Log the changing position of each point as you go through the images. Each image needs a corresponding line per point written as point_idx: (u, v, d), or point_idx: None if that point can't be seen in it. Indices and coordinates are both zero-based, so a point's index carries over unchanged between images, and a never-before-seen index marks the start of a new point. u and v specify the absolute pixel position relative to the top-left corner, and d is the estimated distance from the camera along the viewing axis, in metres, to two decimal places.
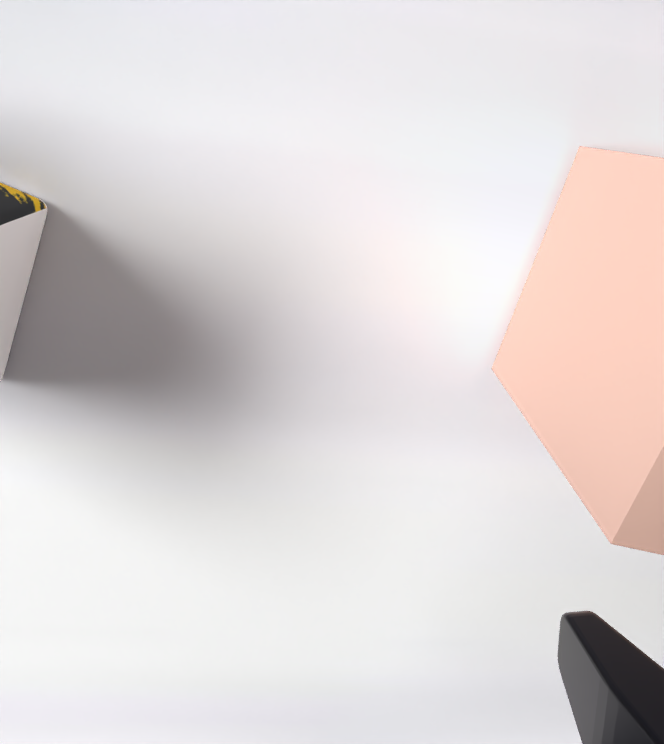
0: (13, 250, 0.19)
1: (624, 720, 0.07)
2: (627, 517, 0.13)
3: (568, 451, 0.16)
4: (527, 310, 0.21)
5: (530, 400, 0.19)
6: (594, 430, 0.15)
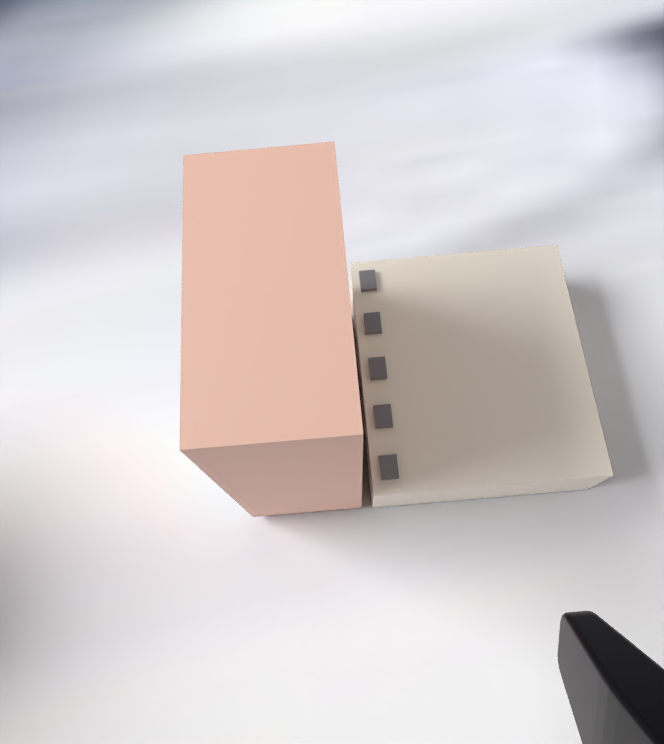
0: None
1: (624, 720, 0.07)
2: (185, 419, 0.14)
3: None
4: None
5: None
6: None
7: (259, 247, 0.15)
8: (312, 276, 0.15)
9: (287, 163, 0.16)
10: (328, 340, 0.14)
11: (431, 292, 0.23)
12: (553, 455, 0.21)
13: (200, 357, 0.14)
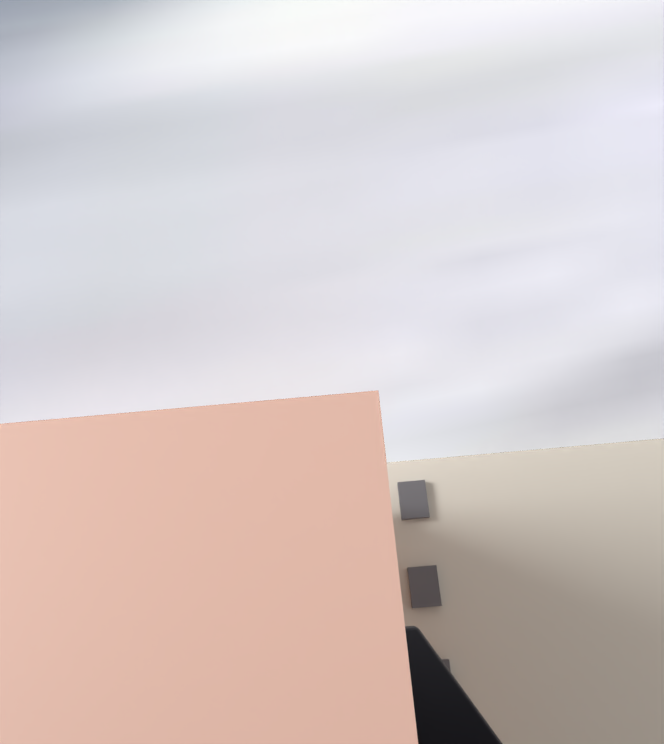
0: None
1: None
2: None
3: None
4: None
5: None
6: None
7: None
8: None
9: (255, 456, 0.06)
10: None
11: (525, 523, 0.13)
12: None
13: None
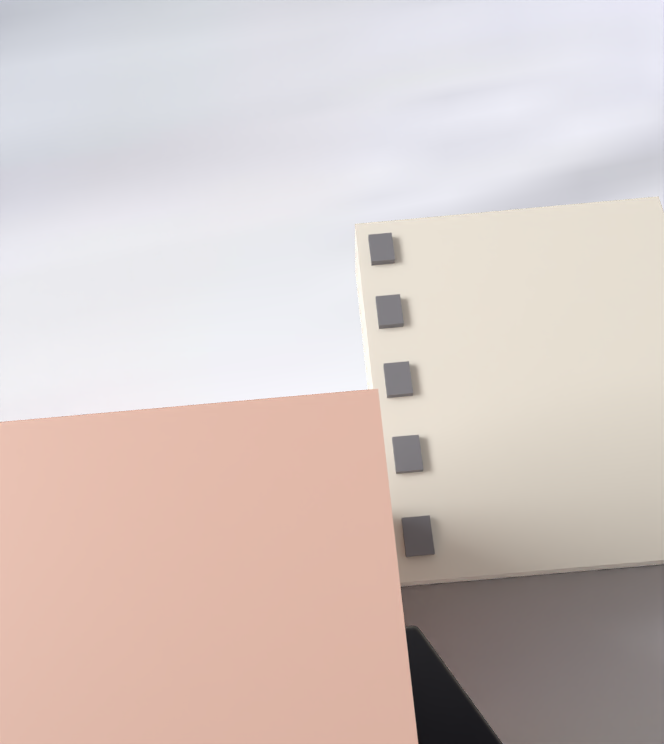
0: None
1: None
2: None
3: None
4: None
5: None
6: None
7: None
8: None
9: (255, 454, 0.06)
10: None
11: (476, 266, 0.16)
12: None
13: None
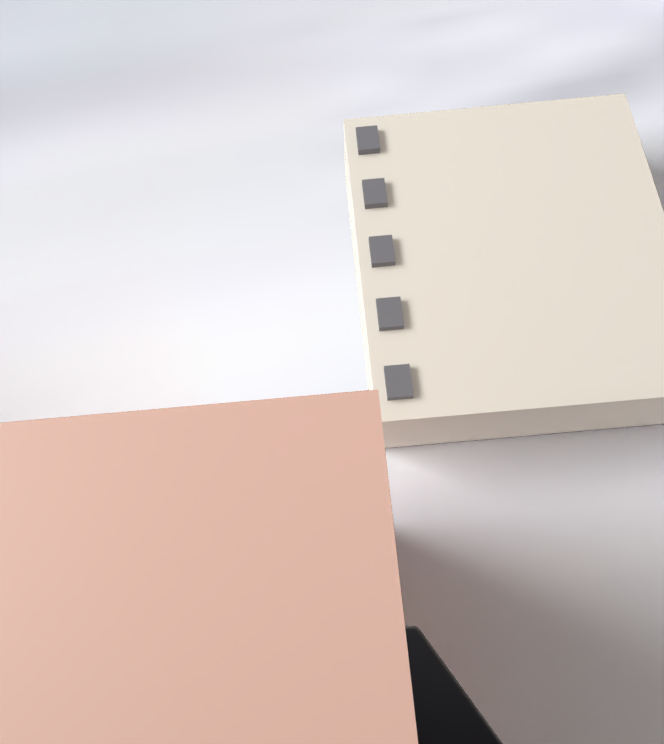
0: None
1: None
2: None
3: None
4: None
5: None
6: None
7: None
8: None
9: (256, 454, 0.06)
10: None
11: (455, 155, 0.17)
12: (634, 364, 0.15)
13: None
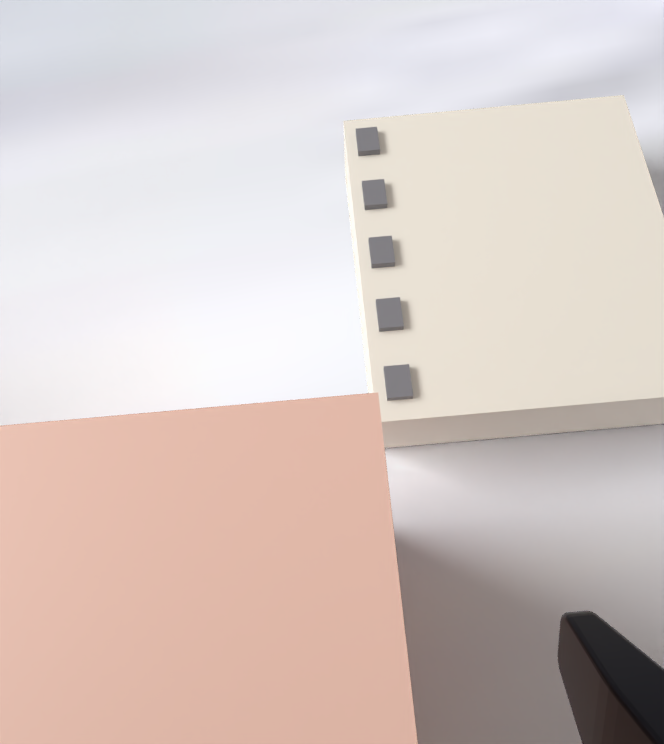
0: None
1: (624, 720, 0.07)
2: None
3: None
4: None
5: None
6: None
7: None
8: None
9: (257, 456, 0.06)
10: None
11: (455, 156, 0.17)
12: (633, 365, 0.15)
13: None
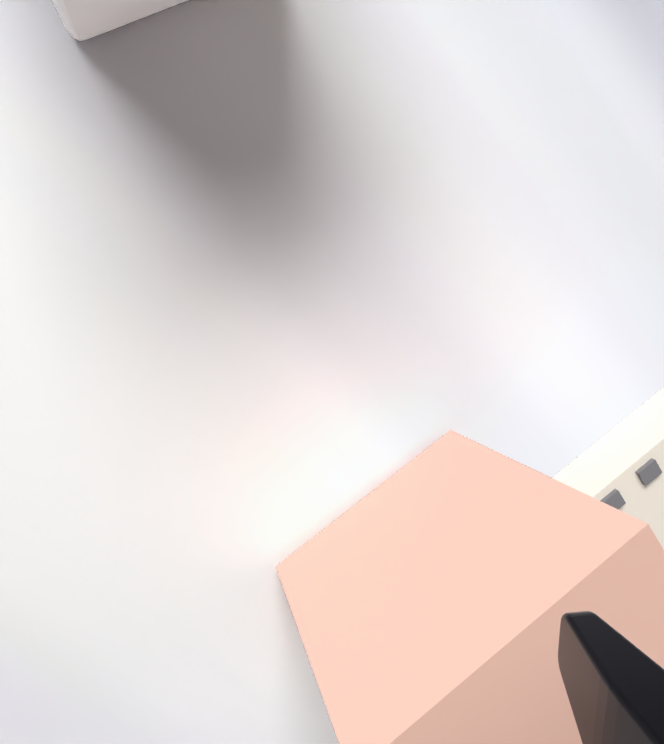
0: None
1: (624, 720, 0.07)
2: None
3: (335, 668, 0.15)
4: (343, 530, 0.21)
5: (310, 608, 0.18)
6: (376, 657, 0.15)
7: None
8: None
9: None
10: None
11: None
12: None
13: (447, 720, 0.13)
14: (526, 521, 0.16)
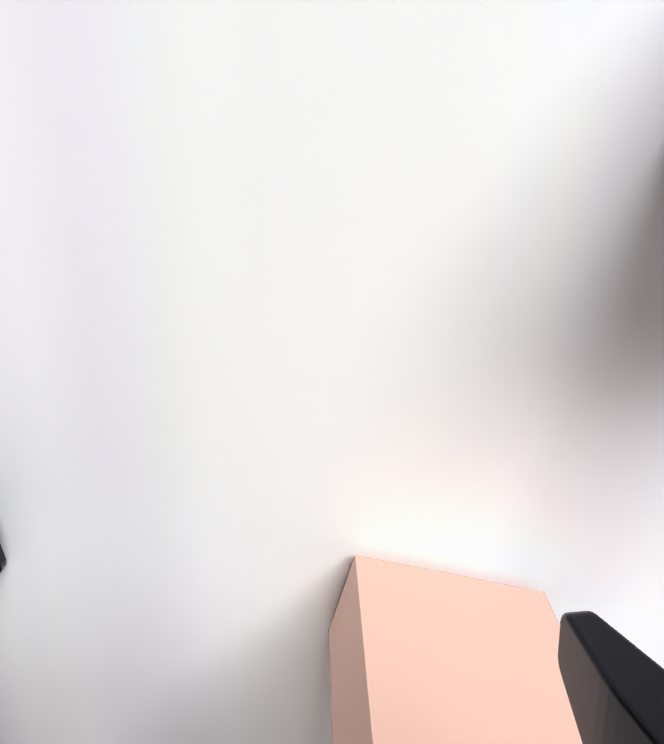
0: None
1: (624, 720, 0.07)
2: None
3: (389, 719, 0.18)
4: (424, 587, 0.23)
5: (378, 634, 0.21)
6: None
7: None
8: None
9: None
10: None
11: None
12: None
13: None
14: None
